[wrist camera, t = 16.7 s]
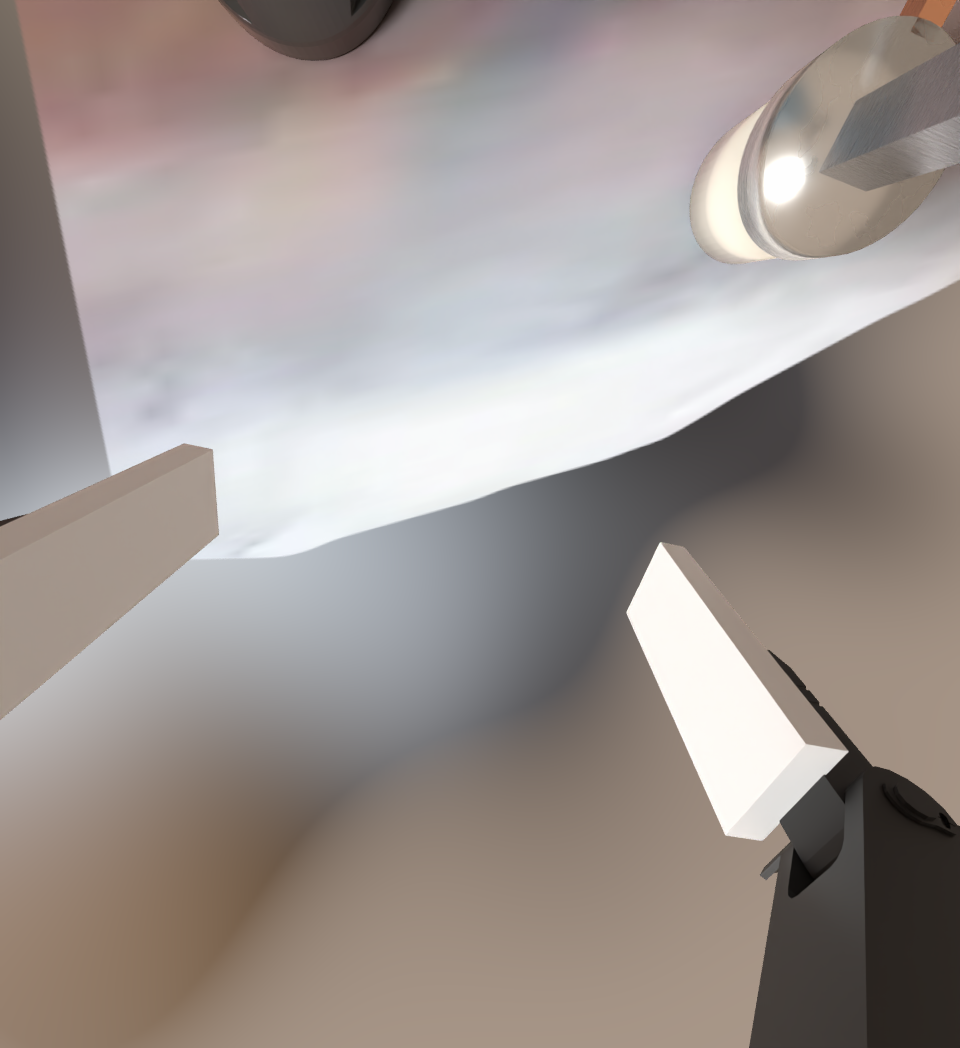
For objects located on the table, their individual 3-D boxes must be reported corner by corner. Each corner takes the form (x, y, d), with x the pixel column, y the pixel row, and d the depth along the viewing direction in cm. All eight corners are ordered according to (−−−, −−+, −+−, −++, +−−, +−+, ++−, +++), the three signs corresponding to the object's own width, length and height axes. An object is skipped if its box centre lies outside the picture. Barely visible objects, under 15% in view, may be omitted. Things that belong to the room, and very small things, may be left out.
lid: (841, 281, 30) (1096, 264, 17) (706, 231, 28) (875, 173, 16) (982, 44, 24) (1507, -233, 12) (823, -30, 23) (1218, -426, 11)
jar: (701, 119, 32) (762, 66, 25) (833, 110, 32) (932, 53, 25) (680, 267, 36) (726, 258, 29) (795, 261, 36) (870, 250, 29)
